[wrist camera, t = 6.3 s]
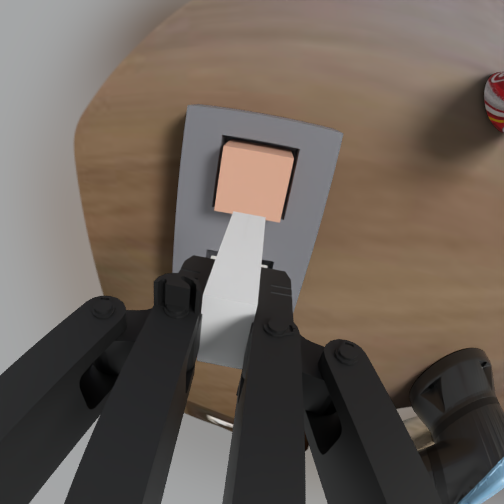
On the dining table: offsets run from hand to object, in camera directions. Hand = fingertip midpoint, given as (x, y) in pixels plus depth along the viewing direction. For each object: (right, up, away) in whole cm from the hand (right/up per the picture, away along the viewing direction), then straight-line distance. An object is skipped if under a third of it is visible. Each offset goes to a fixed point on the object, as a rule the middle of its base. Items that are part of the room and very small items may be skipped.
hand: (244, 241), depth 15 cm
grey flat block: (0, +3, +15) cm, 15 cm away
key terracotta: (+1, +6, +11) cm, 13 cm away
